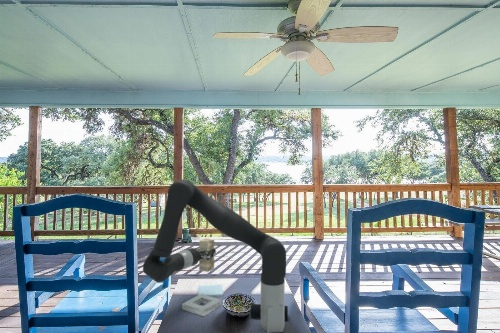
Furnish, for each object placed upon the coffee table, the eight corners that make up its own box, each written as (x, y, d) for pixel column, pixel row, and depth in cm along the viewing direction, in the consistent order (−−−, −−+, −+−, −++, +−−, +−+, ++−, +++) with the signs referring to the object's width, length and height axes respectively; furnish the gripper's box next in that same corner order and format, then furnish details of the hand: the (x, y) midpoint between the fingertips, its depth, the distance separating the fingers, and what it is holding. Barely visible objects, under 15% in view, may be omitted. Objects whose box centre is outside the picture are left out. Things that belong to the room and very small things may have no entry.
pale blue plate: (223, 295, 139) (223, 293, 139) (198, 297, 137) (198, 295, 137) (221, 286, 151) (221, 284, 151) (198, 287, 149) (198, 285, 149)
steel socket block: (203, 316, 118) (203, 310, 118) (182, 309, 124) (182, 303, 124) (221, 305, 128) (221, 299, 128) (200, 299, 134) (200, 293, 135)
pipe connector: (253, 294, 128) (287, 296, 126) (253, 306, 128) (287, 308, 126) (250, 306, 117) (287, 309, 115) (250, 320, 117) (287, 322, 115)
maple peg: (207, 271, 133) (207, 241, 134) (199, 270, 136) (199, 240, 136) (214, 268, 137) (214, 239, 138) (205, 267, 140) (206, 238, 140)
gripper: (198, 252, 121) (222, 244, 136) (174, 247, 128) (199, 240, 143) (198, 270, 121) (222, 260, 135) (173, 264, 128) (198, 255, 143)
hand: (210, 250), depth 139 cm, fingers closed on maple peg, 5 cm apart
